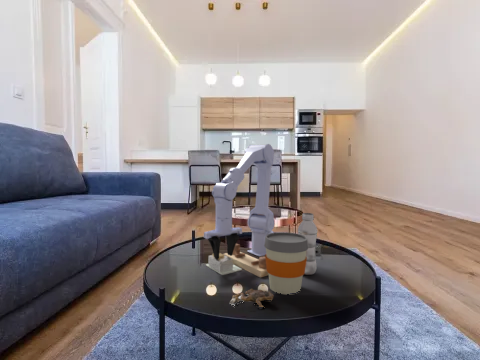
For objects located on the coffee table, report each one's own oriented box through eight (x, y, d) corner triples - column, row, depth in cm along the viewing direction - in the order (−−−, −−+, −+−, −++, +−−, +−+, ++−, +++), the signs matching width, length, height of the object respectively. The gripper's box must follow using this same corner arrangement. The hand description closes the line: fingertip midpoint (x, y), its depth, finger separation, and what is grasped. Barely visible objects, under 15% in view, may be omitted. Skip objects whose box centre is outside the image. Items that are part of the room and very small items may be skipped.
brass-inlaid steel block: (220, 262, 104) (220, 251, 104) (232, 269, 98) (233, 257, 97) (208, 265, 101) (208, 253, 101) (220, 272, 95) (220, 259, 95)
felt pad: (224, 261, 107) (224, 260, 107) (242, 270, 98) (242, 269, 98) (205, 265, 103) (205, 264, 103) (222, 275, 94) (222, 274, 94)
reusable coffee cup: (303, 300, 77) (305, 244, 76) (258, 293, 81) (259, 240, 80) (309, 282, 88) (310, 234, 88) (269, 277, 93) (270, 230, 92)
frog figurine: (281, 297, 79) (281, 284, 79) (267, 318, 69) (267, 302, 68) (243, 289, 84) (243, 277, 84) (224, 308, 73) (224, 293, 73)
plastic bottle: (317, 271, 98) (318, 212, 97) (315, 278, 92) (317, 216, 91) (298, 268, 100) (299, 211, 99) (295, 275, 94) (296, 214, 93)
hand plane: (237, 255, 114) (238, 240, 114) (276, 272, 96) (276, 255, 96) (222, 259, 110) (223, 243, 110) (260, 277, 92) (260, 259, 92)
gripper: (234, 214, 107) (233, 250, 108) (199, 217, 99) (199, 256, 99) (245, 216, 101) (245, 255, 102) (210, 221, 93) (209, 262, 93)
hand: (223, 256), depth 100 cm, fingers open, 5 cm apart
